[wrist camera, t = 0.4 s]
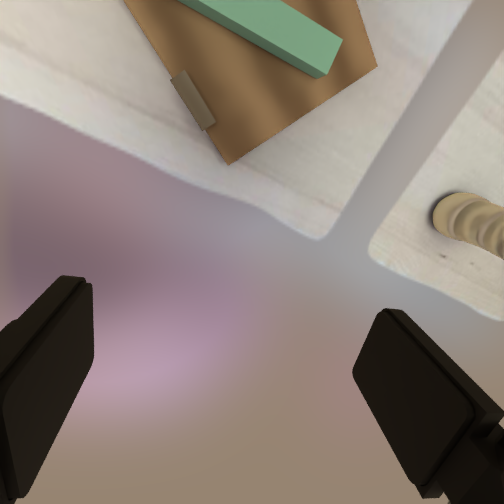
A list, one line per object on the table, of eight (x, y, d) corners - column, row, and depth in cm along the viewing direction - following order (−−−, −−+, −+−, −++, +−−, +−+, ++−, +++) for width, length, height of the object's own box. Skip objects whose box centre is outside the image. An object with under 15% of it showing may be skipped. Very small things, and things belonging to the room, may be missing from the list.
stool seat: (282, -163, 25) (301, -243, 19) (364, 71, 33) (393, 60, 28) (108, -22, 27) (81, -59, 22) (225, 163, 35) (227, 170, 30)
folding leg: (127, -29, 24) (116, -47, 22) (136, -72, 23) (126, -97, 21) (316, 79, 30) (327, 74, 27) (330, 47, 29) (343, 39, 26)
